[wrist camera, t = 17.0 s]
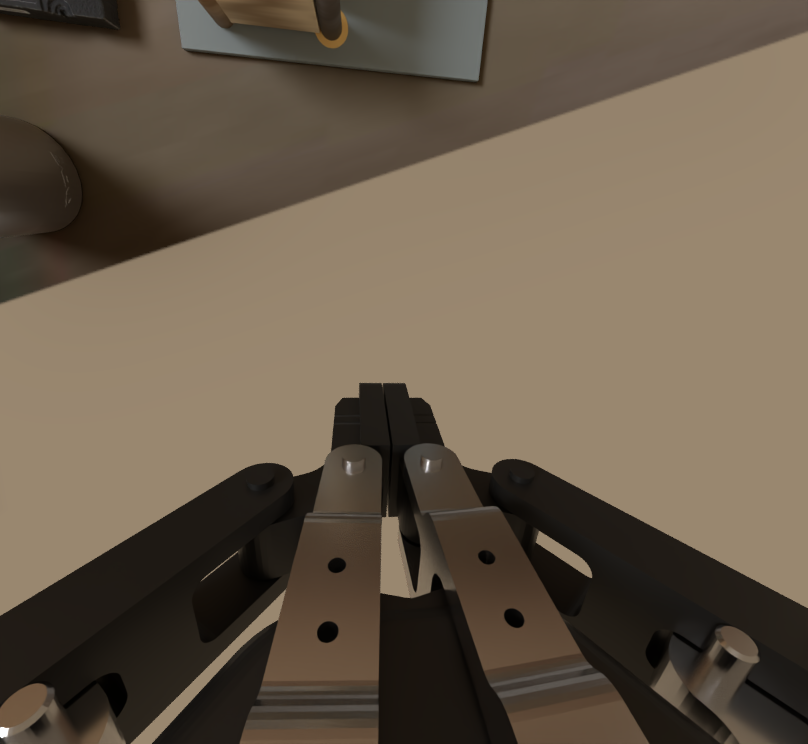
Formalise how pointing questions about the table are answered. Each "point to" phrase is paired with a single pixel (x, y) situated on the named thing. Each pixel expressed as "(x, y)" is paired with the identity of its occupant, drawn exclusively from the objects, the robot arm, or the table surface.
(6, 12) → the disk drive
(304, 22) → the fixed fence section
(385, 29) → the board
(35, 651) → the robot arm
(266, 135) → the table surface
